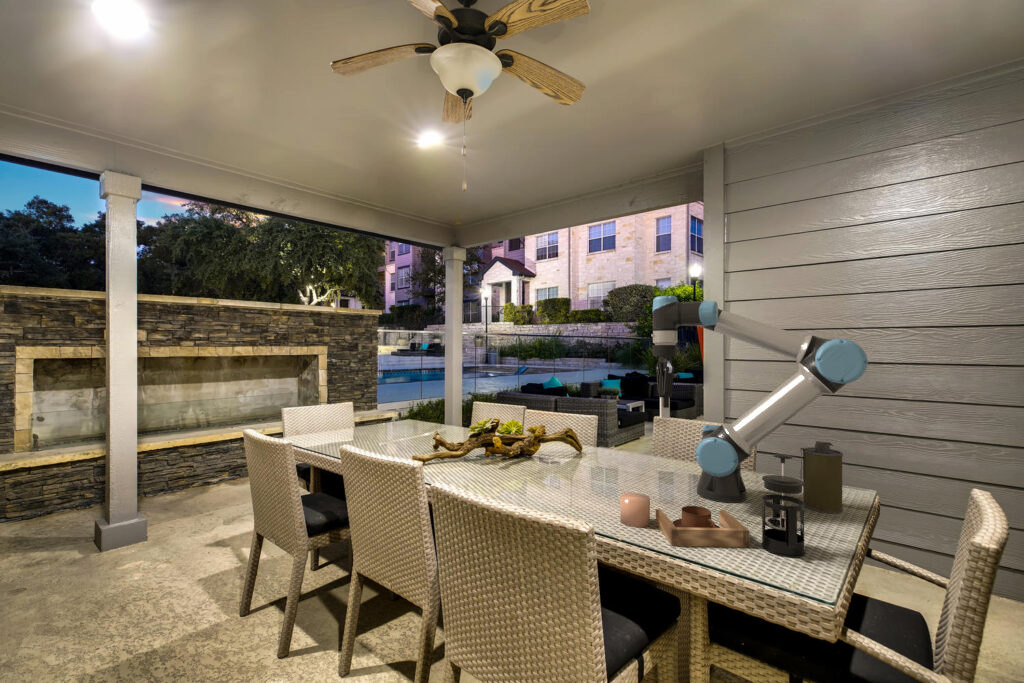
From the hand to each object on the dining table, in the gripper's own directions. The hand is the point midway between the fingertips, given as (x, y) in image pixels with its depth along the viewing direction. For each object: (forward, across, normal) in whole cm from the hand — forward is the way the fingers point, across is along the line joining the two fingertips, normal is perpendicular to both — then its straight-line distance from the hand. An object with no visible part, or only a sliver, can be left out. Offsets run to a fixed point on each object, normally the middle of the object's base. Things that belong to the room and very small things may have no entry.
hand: (664, 417), depth 153 cm
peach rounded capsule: (+27, +20, -14) cm, 36 cm away
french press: (+27, +37, +18) cm, 49 cm away
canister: (+27, +6, +46) cm, 53 cm away
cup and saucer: (+27, +27, 0) cm, 38 cm away
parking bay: (+26, +28, +1) cm, 39 cm away
